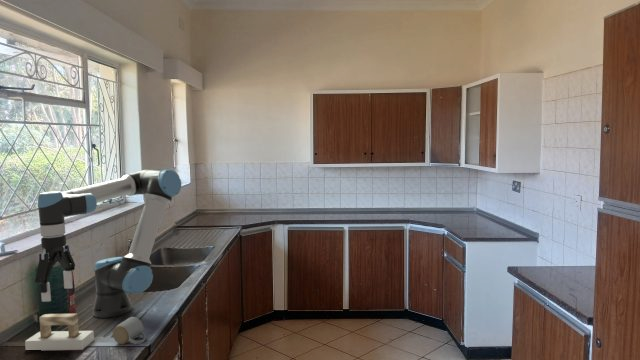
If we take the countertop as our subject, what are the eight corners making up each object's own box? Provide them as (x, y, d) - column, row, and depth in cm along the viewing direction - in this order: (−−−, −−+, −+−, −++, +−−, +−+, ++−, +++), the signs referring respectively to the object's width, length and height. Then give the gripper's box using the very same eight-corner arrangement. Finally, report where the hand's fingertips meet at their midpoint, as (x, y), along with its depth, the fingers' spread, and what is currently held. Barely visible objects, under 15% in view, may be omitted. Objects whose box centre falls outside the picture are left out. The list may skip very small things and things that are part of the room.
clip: (79, 343, 164) (77, 313, 163) (75, 346, 161) (73, 316, 160) (46, 343, 164) (44, 314, 163) (41, 347, 161) (39, 317, 160)
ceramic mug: (111, 344, 162) (110, 323, 162) (127, 335, 170) (126, 315, 170) (135, 348, 159) (134, 327, 159) (151, 338, 167) (150, 318, 166)
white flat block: (94, 339, 167) (93, 330, 166) (82, 349, 159) (81, 340, 158) (39, 340, 167) (39, 331, 166) (25, 350, 159) (25, 341, 158)
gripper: (62, 229, 172) (67, 283, 174) (19, 244, 147) (24, 307, 149) (82, 228, 172) (86, 283, 174) (42, 243, 147) (47, 306, 149)
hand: (58, 294), depth 161 cm, fingers open, 13 cm apart
